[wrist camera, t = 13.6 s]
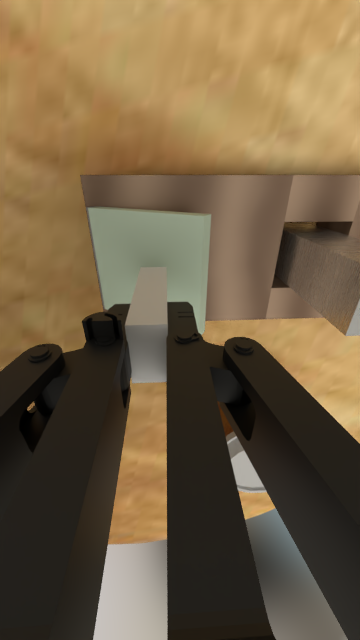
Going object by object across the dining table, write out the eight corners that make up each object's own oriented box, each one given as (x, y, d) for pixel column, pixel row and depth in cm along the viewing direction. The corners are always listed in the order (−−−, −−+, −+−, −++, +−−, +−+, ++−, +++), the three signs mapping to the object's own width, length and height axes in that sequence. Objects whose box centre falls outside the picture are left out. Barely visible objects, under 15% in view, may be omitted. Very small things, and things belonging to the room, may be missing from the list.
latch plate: (108, 303, 22) (100, 307, 22) (93, 206, 18) (82, 207, 18) (204, 331, 18) (198, 337, 18) (211, 214, 14) (203, 216, 14)
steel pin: (262, 263, 26) (345, 335, 14) (268, 223, 24) (371, 267, 12) (298, 262, 27) (411, 333, 14) (308, 222, 25) (448, 266, 12)
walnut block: (114, 300, 28) (105, 323, 23) (97, 175, 22) (80, 175, 17) (325, 295, 29) (353, 316, 24) (362, 175, 23) (409, 175, 18)
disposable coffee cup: (204, 355, 32) (223, 440, 22) (276, 354, 33) (328, 437, 22) (199, 407, 37) (213, 497, 26) (262, 405, 37) (300, 493, 27)
